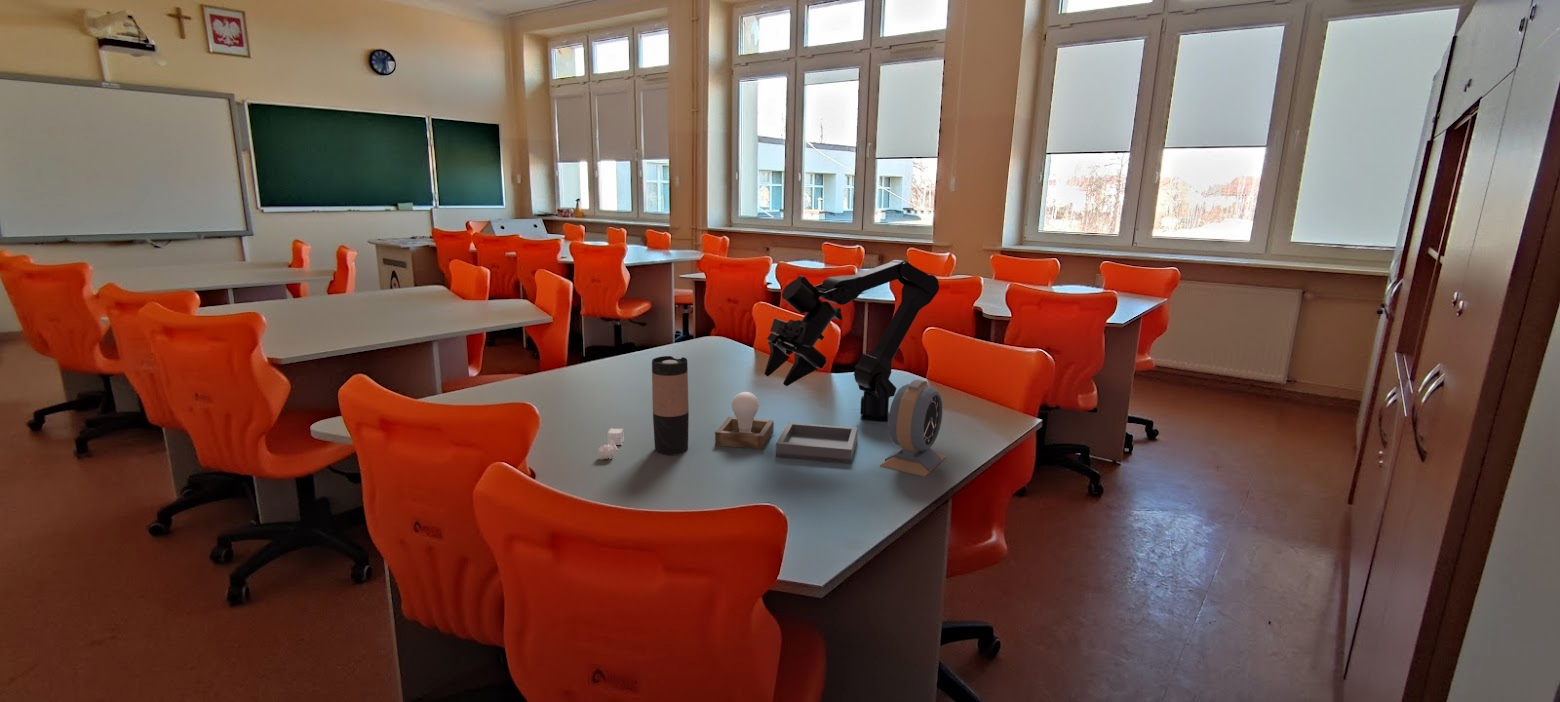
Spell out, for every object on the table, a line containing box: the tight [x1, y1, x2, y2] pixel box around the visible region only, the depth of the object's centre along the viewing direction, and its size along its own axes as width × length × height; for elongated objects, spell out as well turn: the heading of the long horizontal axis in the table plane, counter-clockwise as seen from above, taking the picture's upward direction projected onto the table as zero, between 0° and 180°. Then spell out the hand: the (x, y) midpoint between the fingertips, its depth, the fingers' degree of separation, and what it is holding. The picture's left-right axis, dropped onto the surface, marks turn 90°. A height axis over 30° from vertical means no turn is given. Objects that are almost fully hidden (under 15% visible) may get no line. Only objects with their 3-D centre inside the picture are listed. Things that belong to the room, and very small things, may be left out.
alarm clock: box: [879, 379, 946, 477], centre depth 146 cm, size 14×10×18 cm
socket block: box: [714, 416, 775, 450], centre depth 159 cm, size 11×11×3 cm
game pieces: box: [597, 427, 625, 460], centre depth 151 cm, size 12×3×3 cm, turn 1°
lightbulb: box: [731, 391, 760, 433], centre depth 158 cm, size 6×6×11 cm
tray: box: [775, 421, 859, 464], centre depth 154 cm, size 16×14×3 cm
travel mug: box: [651, 355, 690, 456], centre depth 150 cm, size 8×8×20 cm
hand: (775, 380), depth 160 cm, fingers open, 9 cm apart
